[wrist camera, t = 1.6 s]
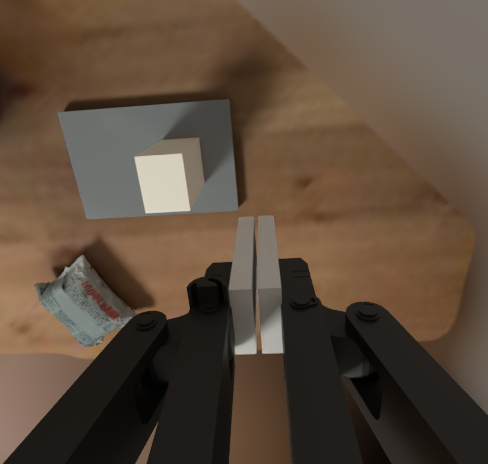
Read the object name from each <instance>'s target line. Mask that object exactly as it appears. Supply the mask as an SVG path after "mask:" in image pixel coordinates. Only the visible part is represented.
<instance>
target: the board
mask: <svg viewBox="0 0 488 464" xmlns="http://www.w3.org/2000/svg"><path fill="white" fill-rule="evenodd" d="M57 113H58V116H59V120H60V124H61V127H62V131H63V135H64V138H65V142H66V146H67V149H68V153H69V156H70V160H71V164H72V167H73V171H74V175H75V178H76V182H77V185H78V189H79V193H80V196H81V200H82V204H83V207H84V211H85V215H86V218H87V219H100V218H118V217H136V216H154V215H171V214H189V213H207V212H225V211H238V210H239V202H238V190H237V178H236V166H235V154H234V142H233V130H232V118H231V107H230V99H217V100H204V101H191V102H178V103H165V104H153V105H140V106H127V107H114V108H101V109H88V110H75V111H63V112H57ZM192 137H199V138H200V147H201V155H202V163H203V171H204V179H205V184H204V186H203V188H202V190H201V191H200V193H199V195H198V197H197V199H196V201H195V203H194V205H193V207H192V209H191V211H180V212H163V213H145V208H144V203H143V198H142V193H141V188H140V183H139V178H138V173H137V168H136V163H135V158H134V157H135V156H136V155H138V154H139V153H141V152H143V151H144V150H146V149H148V148H149V147H151V146H153V145H154V144H156V143H157V142H159V141H161V140H164V139H178V138H192Z"/></svg>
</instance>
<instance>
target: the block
mask: <svg viewBox="0 0 488 464" xmlns="http://www.w3.org/2000/svg"><path fill="white" fill-rule="evenodd" d="M134 158H135V163H136V168H137V173H138V178H139V183H140V188H141V193H142V198H143V203H144V208H145V213H163V212H180V211H191V209H192V207H193V205H194V203H195V201H196V199H197V197H198V195H199V193H200V191H201V190H202V188H203V186H204V184H205V179H204V171H203V163H202V155H201V147H200V138H199V137H192V138H178V139H164V140H161V141H159V142H157V143H156V144H154V145H153V146H151V147H149V148H148V149H146V150H144V151H143V152H141V153H139V154H138V155H136V156H135V157H134Z"/></svg>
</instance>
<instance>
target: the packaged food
mask: <svg viewBox="0 0 488 464" xmlns="http://www.w3.org/2000/svg"><path fill="white" fill-rule="evenodd" d="M34 286H35V289H36V292H37V295H38V298H39V300H40V302H41V305H43V306H44V307H45V308H46V309H47V310H48V311H49V312H51V313H52V314H53V315H54V316H55V317H56V318H57V319H59V320H60V321H61V323H62V324H63V325H65V326H66V327H67V329H68V330H69V331H70V333H71V334H72V335H73V336H74V337H75V338H76V339H77V340H78V341H79V343H80V344H82V346H84V347H87V346H93V345H95V344H96V345H98V344H100V343H101V342H102V341H103V338H104V335H106V334H108V333H110V332H112V331H113V330H115V329H117V328H121V327H124V326H125V324H126V323H127V322H128V321H129V320H130V319H132V318H133V317H134V316H136V315H138V314H137V313H135V312H133V311H132V310H131V308H130V307H129V306H127V305H126V304H125V303H124V302H123V301H122V300H121V299H120V298H119V297H118V296H116V295H115V294H114V293H113V292H112V291H111V289H110V288H109V287H108V286H107V285H106V283H105V282H104V281H103V280H102V279H101V278H100V276H99V275H98V274H97V273H96V271H95V270H94V269H93V267H92V266H91V265H90V263H89V262H87V260H86V259H85V257H84V255H81V256H80V257H78V258H77V260H76V261H75V262H74V263H73V264H72V265H71V267H69V268H68V267H65V269H64V271H63V272H62V274H61V275H60V276H59V277H57V278H56V279H55V280H54V281H53V282H51V283H49V282H48V283H43V284H42V283H36V284H35V285H34Z"/></svg>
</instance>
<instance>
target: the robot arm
mask: <svg viewBox="0 0 488 464" xmlns="http://www.w3.org/2000/svg"><path fill="white" fill-rule="evenodd" d="M187 293H188V299H189V305H190V310H189V313H187V314H185V315H183V316H180V317H177V318H173V319H169V320H167V318H166V315H165V314H163V313H162V312H159V311H147V312H143V313H140V314H138V315H136V316H134V317H133V318H132V319H130V320H129V321H128V322H127V323H126V324H125V326H124V327H123V328H122V329H121V330H120V331H119V332H118V334H117V335H116V336H115V337H114V338H113V339H112V340H111V342H110V343H109V344H108V345H107V346H106V347H105V348H104V349H103V351H102V352H101V353H100V354H99V355H98V356H97V357H96V359H95V360H94V361H93V362H92V363H91V364H90V365H89V367H88V368H87V369H86V370H85V371H84V372H83V373H82V374H81V376H80V377H79V378H78V379H77V380H76V381H75V382H74V384H73V385H72V386H71V387H70V388H69V389H68V390H67V391H66V393H65V394H64V395H63V396H62V397H61V398H60V399H59V401H58V402H57V403H56V404H55V405H54V406H53V408H52V409H51V410H50V411H49V412H48V413H47V415H45V416H44V418H43V419H42V420H41V421H40V422H39V423H38V424H37V426H36V427H35V428H34V429H33V430H32V431H31V433H30V434H29V435H28V436H27V437H26V438H25V439H24V440H23V441H22V443H21V444H20V445H19V446H18V447H17V448H16V449H15V451H14V452H13V453H12V454H11V455H10V456H9V457H8V459H7V460H6V461H5V462H4V463H3V464H135V463H136V461H137V459H138V458H139V456H140V454H141V452H142V450H143V448H144V446H145V445H146V443H147V441H148V439H149V437H150V435H151V434H152V432H153V430H154V428H155V426H156V424H157V422H158V425H157V429H156V432H155V436H154V439H153V443H152V446H151V450H150V454H149V457H148V461H147V464H229V453H230V436H231V421H232V406H233V405H232V404H233V390H234V374H235V360H234V347H235V354H256V349H257V254H256V239H255V224H254V216H253V217H239V220H238V227H237V234H236V241H235V248H234V255H233V262H221V263H212V264H211V265H210V266H209V267H208V268H207V270H206V273H205V277H201V278H198V279H195V280H193V281H192V282H191V283H189V285H188V286H187ZM258 295H259V310H260V325H261V340H262V353H263V354H265V353H283V359H284V380H285V390H286V405H287V417H288V418H287V419H288V433H289V447H290V462H291V464H363V462H362V459H361V455H360V451H359V447H358V443H357V439H356V436H355V431H354V427H353V424H352V420H351V416H350V412H349V408H348V404H347V400H346V396H345V393H344V389H343V385H342V381H341V377H340V375H342V376H343V379H344V381H345V383H346V385H347V387H348V389H349V390H350V392H351V394H352V395H353V397H354V399H355V401H356V403H357V404H358V406H359V408H360V409H361V411H362V413H363V414H364V416H365V418H366V420H367V421H368V423H369V425H370V427H371V428H372V430H373V432H374V434H375V435H376V437H377V439H378V440H379V442H380V444H381V446H382V447H383V449H384V451H385V452H386V454H387V456H388V458H389V459H390V461H391V463H392V464H488V415H487V414H486V413H485V412H484V411H483V410H482V409H481V408H480V407H479V406H478V405H477V404H476V403H475V402H474V400H473V399H472V398H471V397H470V396H469V395H468V394H467V393H466V392H465V391H464V390H463V389H462V388H461V387H460V386H459V385H458V384H457V383H456V382H455V381H454V380H453V379H452V378H451V377H450V375H449V374H448V373H447V372H446V371H445V370H444V369H443V368H442V367H441V366H440V365H439V364H438V363H437V362H436V361H435V360H434V359H433V358H432V357H431V356H430V355H429V354H428V352H427V351H426V350H425V349H424V348H423V347H422V346H421V345H420V344H419V343H418V342H417V341H416V340H415V339H414V338H413V337H412V336H411V335H410V334H409V333H408V332H407V331H406V329H405V328H404V327H403V326H402V325H401V324H400V323H399V322H398V321H397V320H396V319H395V318H394V317H393V316H392V315H391V314H390V313H389V312H388V311H387V310H386V309H385V308H383V307H382V306H380V305H377V304H375V303H370V302H356V303H353V304H351V305H350V306H348V307H347V309H346V312H343V311H337V310H333V309H329V308H327V307H325V306H323V305H322V303H321V301H320V300H319V298H317V297H316V295H315V291H314V287H313V284H312V280H311V276H310V272H309V268H308V265H307V263H306V262H305V261H304V260H303V259H301V258H288V259H278V252H277V243H276V234H275V225H274V216H273V215H271V216H258Z"/></svg>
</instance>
